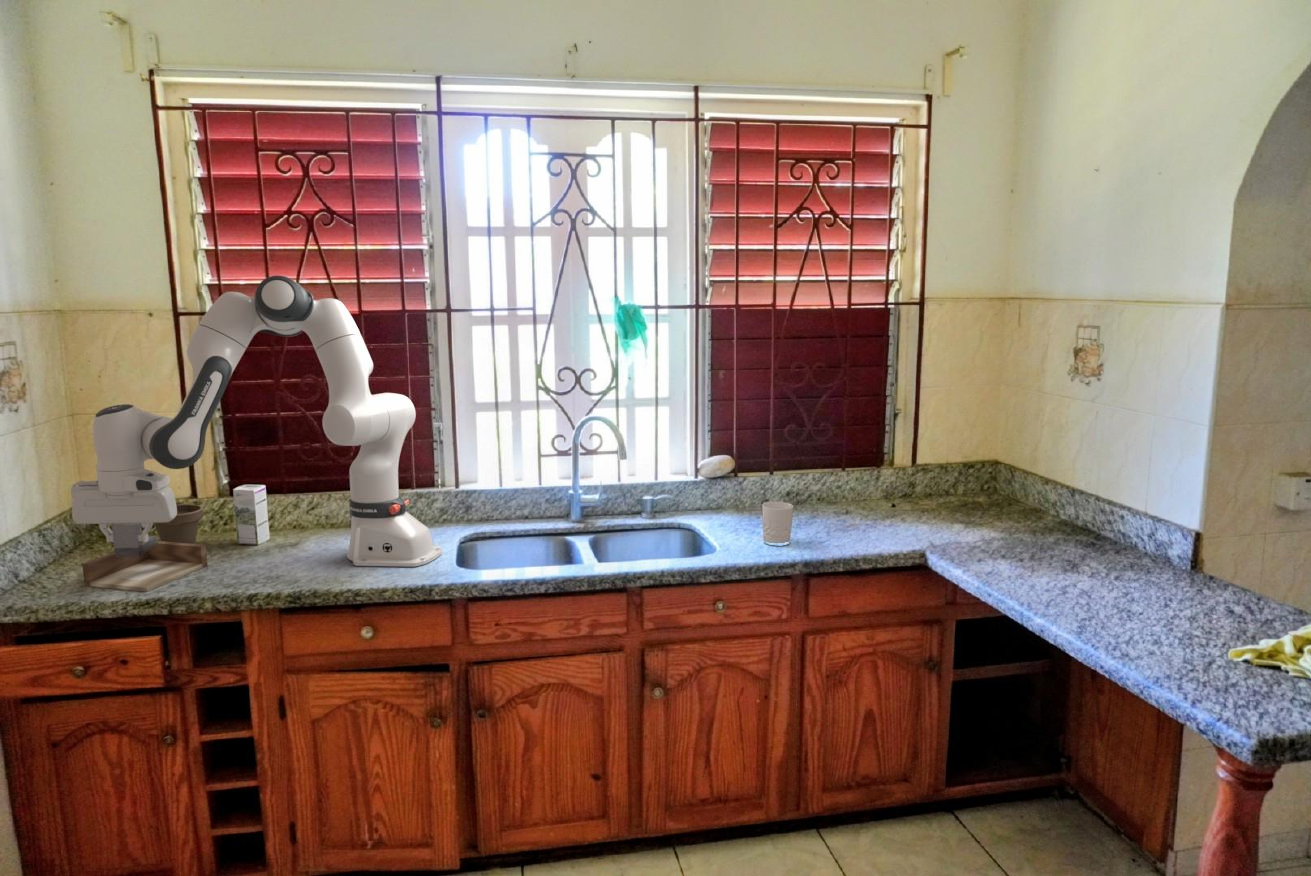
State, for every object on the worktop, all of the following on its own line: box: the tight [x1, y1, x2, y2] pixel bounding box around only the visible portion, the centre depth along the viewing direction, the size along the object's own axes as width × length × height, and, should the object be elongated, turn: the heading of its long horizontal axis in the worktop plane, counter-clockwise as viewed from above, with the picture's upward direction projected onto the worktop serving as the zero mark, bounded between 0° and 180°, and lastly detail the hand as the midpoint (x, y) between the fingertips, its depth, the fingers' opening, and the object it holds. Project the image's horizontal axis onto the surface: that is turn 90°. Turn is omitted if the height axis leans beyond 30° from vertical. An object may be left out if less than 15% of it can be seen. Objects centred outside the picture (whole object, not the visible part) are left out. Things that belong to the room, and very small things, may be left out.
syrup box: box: [232, 484, 270, 546], centre depth 220 cm, size 6×6×14 cm
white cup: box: [761, 501, 794, 543], centre depth 222 cm, size 8×8×10 cm
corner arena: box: [81, 540, 208, 593], centre depth 195 cm, size 16×18×5 cm
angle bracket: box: [111, 523, 158, 557], centre depth 193 cm, size 9×5×7 cm, turn 7°
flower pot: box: [153, 503, 204, 544], centre depth 214 cm, size 12×11×10 cm
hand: (128, 541), depth 190 cm, fingers closed on angle bracket, 5 cm apart
